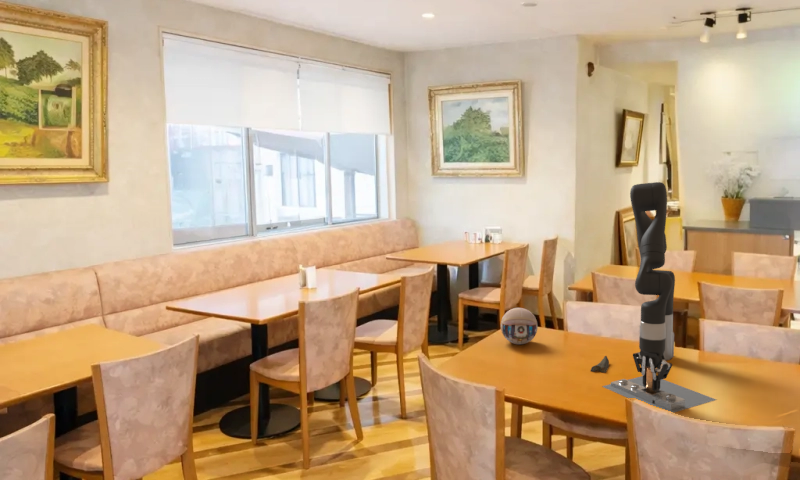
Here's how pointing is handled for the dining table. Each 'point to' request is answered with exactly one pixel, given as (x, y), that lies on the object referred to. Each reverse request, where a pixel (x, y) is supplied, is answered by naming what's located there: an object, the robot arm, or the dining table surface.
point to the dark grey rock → (601, 366)
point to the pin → (649, 381)
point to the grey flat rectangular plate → (682, 392)
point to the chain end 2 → (663, 399)
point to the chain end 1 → (630, 388)
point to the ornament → (519, 326)
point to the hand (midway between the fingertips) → (651, 388)
